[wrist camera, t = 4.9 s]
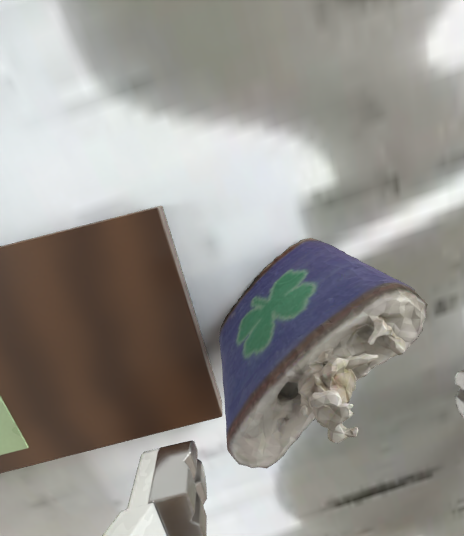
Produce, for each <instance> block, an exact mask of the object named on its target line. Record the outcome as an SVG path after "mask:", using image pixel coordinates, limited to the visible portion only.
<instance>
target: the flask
mask: <svg viewBox="0 0 464 536" xmlns="http://www.w3.org/2000/svg"><path fill="white" fill-rule="evenodd" d="M426 307H427V304H426V302H425V301H424V300H423V299H422V298H421V297H419V295H418V294H417V293H416V292H415V290H414V289H413V288H412V287H410V286H408V285H406V284H404V283H402V282H401V281H399V280H397V279H394V278H392V277H390V276H388V275H386V274H385V273H383V272H381V271H379V270H377V269H375V268H373V267H371V266H369V265H367V264H365V263H363V262H361V261H359V260H358V259H356V258H354V257H351V256H349V255H347V254H346V253H344V252H343V251H340V250H339V249H337V248H335V247H333V246H332V245H329V244H327V243H324V242H321V241H318V240H315V239H312V238H308V239H304V240H301V241H300V242H299V243H296V244H294V245H292V246H291V247H289V248H288V249H287V250H286V251H285V252H284V253H283V254H281V255H280V256H278V257H276V258H275V259H274V261H273V262H272V263H270V264H268V266H267V267H265V269H263V271H262V272H261V273H260V275H258V276H257V277H256V278H255V280H254V282H253V283H252V284H251V286H250V287H249V288H248V289H247V290H246V291H245V293H244V294H243V295H242V296H241V298H239V300H238V302H237V303H236V304H235V306H233V308H232V309H231V311H230V313H229V314H228V315H227V316H226V318H225V320H224V322H223V324H222V326H221V330H220V336H219V343H220V350H221V359H222V370H223V386H224V396H225V414H226V425H227V428H226V434H227V449H228V451H229V453H230V454H231V456H232V457H233V458H234V459H235V460H236V461H237V462H238V464H241V465H245V466H248V467H251V468H256V467H262V468H268V467H270V466H271V465H273V464H274V463H276V462H277V461H278V460H279V459H280V458H282V457H283V456H284V455H285V453H286V452H287V450H288V449H289V447H290V446H291V445H292V444H293V443H294V442H295V441H296V440H297V439H298V438H299V436H300V435H301V433H302V431H304V430H305V429H306V428H307V427H308V426H309V425H310V423H311V422H312V421H314V420H315V419H316V420H317V422H319V423H320V425H321V426H323V427H326V428H328V429H329V430H328V439H329V440H330V441H332V442H335V443H339V442H341V441H342V440H344V439H346V438H347V437H356V435H357V434H358V429H359V428H357V427H353V428H349V429H347V428H346V427H344V426H343V425H342V422H344V421H345V420H347V419H348V418H350V417H351V416H352V415H353V414H354V413H352V412H351V408H352V407H353V404H348V402H349V400H350V398H351V395H352V391H354V390H355V387H356V381H357V380H359V379H360V378H362V377H364V376H366V375H367V373H368V372H369V371H370V370H371V369H373V368H374V367H375V366H377V365H380V364H382V363H384V362H386V361H387V360H388V359H389V358H390V357H394V356H396V355H401V354H403V353H404V351H406V350H407V349H408V348H409V345H410V344H412V343H413V342H414V341H415V340H417V338H418V337H419V335H420V334H421V332H422V331H423V326H422V323H423V322H424V320H425V319H426Z"/></svg>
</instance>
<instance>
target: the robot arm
mask: <svg viewBox="0 0 464 536" xmlns="http://www.w3.org/2000/svg"><path fill="white" fill-rule="evenodd" d="M455 384H456V385H457V386H458V387H459V388H460V389H459V391H458V392H457V394H456V406H457V408H458V410H459V412H460V414H461V416H462V417H463V418H464V370H463V371H459V372H457V374H456V375H455ZM206 499H207V488H206V478H205V473H204V468H203V465H202V462H201V461H200V460H198V459H197V447H196V445H195V442H194V441H188V442H183V443H179V444H175V445H170V446H166V447H161V448H159V449H155V450H150V451H146V452H143V454H142V455H141V457H140V461H139V465H138V469H137V473H136V476H135V480H134V484H133V488H132V492H131V496H130V500H129V503H128V507H127V509H126V510H123V511H121V512H120V514H119V515H118V516H117V518H116V519H115V520H114V521H113V523H112V524H111V525H110V527H109V528H108V529H107V530H106V532H105V533H104V534H103V536H206V520H207V516H206V513H205V510H204V507H203V504H204V503H205V501H206Z"/></svg>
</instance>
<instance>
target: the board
mask: <svg viewBox="0 0 464 536" xmlns="http://www.w3.org/2000/svg"><path fill="white" fill-rule="evenodd" d="M219 417H222V400H221V397H220V394H219V390H218V387H217V384H216V381H215V377H214V374H213V371H212V367H211V364H210V361H209V358H208V354H207V351H206V348H205V344H204V341H203V338H202V335H201V331H200V328H199V325H198V321H197V318H196V315H195V311H194V308H193V305H192V302H191V298H190V295H189V292H188V288H187V285H186V282H185V279H184V275H183V272H182V269H181V265H180V262H179V259H178V256H177V252H176V249H175V246H174V242H173V239H172V236H171V232H170V229H169V226H168V223H167V219H166V216H165V213H164V209H163V207H162V206H158V207H154V208H150V209H146V210H142V211H138V212H134V213H130V214H126V215H122V216H118V217H114V218H110V219H107V220H103V221H99V222H95V223H91V224H87V225H83V226H79V227H75V228H71V229H67V230H63V231H59V232H55V233H51V234H47V235H43V236H39V237H35V238H31V239H27V240H23V241H20V242H16V243H12V244H8V245H4V246H0V473H4V472H7V471H11V470H15V469H19V468H23V467H27V466H31V465H35V464H39V463H43V462H47V461H50V460H54V459H58V458H62V457H66V456H70V455H74V454H78V453H82V452H86V451H90V450H94V449H97V448H101V447H105V446H109V445H113V444H117V443H121V442H125V441H129V440H133V439H137V438H140V437H144V436H148V435H152V434H156V433H160V432H164V431H168V430H172V429H176V428H180V427H183V426H187V425H191V424H195V423H199V422H203V421H207V420H211V419H215V418H219Z"/></svg>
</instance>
